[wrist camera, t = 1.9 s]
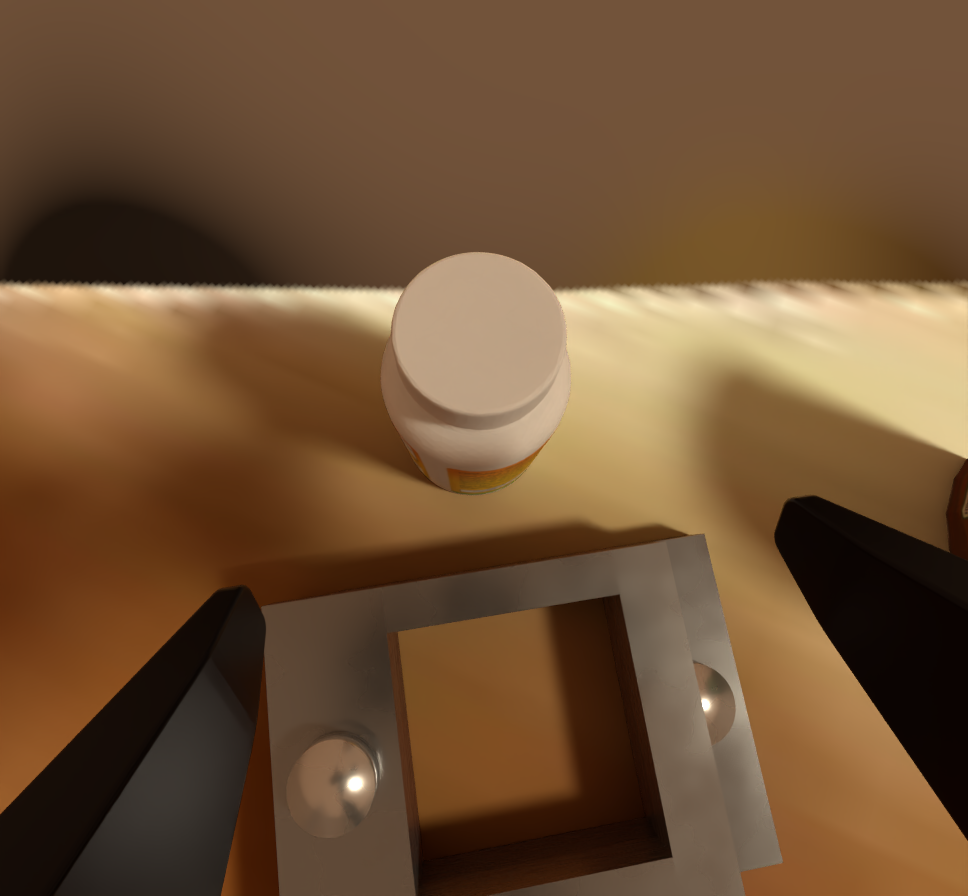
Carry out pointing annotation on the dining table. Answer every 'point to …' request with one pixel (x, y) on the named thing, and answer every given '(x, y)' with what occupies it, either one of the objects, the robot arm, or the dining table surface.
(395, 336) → the supplement bottle
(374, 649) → the grey knobbed square frame
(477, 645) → the dining table surface
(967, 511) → the food container
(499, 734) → the dining table surface
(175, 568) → the dining table surface
